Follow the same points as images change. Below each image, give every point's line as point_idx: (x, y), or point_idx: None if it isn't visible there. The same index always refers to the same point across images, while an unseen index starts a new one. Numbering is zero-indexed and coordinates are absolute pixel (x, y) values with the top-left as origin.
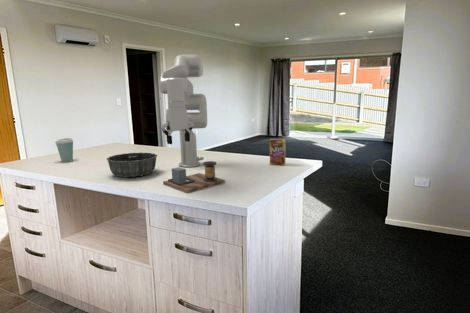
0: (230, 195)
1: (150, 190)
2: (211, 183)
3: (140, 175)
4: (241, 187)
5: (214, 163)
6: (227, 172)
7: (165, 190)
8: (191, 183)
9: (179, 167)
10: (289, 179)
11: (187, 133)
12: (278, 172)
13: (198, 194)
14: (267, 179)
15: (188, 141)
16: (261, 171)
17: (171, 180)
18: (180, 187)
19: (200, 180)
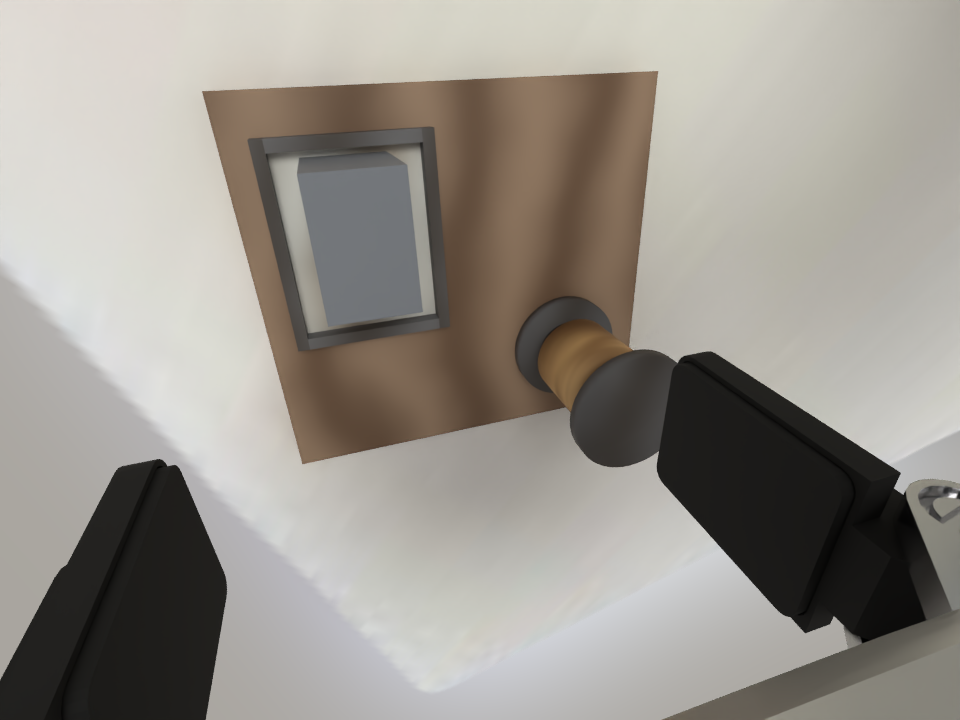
0: (477, 574)
1: (11, 203)
2: (512, 418)
3: None
4: (602, 498)
5: (636, 462)
6: (821, 160)
7: (168, 297)
8: (407, 342)
9: (408, 187)
10: None
11: (803, 601)
12: (913, 376)
13: (352, 498)
14: None
15: (663, 460)
16: (910, 302)
17: (272, 203)
18: (283, 388)
19: (505, 309)
